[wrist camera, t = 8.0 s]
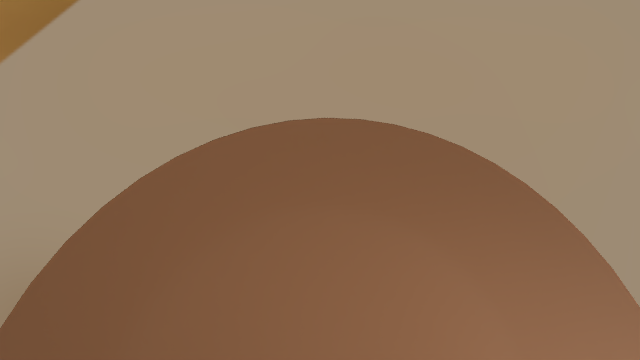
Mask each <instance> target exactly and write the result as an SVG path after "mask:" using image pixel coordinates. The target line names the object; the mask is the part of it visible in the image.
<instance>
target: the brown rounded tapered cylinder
mask: <svg viewBox="0 0 640 360" xmlns="http://www.w3.org/2000/svg"><path fill="white" fill-rule="evenodd" d="M0 360H640V307H639V306H638V304H637V303H636V301H635V300H634V298H633V297H632V296H631V294H630V293H629V291H628V290H627V289H626V287H625V286H624V285H623V283H622V281H621V280H620V279H619V277H618V276H617V274H616V273H615V271H614V270H613V269H612V268H611V266H610V265H609V264H608V263H607V262H606V260H605V259H604V258H603V257H602V256H601V255H600V253H599V252H598V251H597V250H596V249H595V248H594V246H593V245H592V244H591V243H590V242H589V240H588V239H587V238H586V237H585V236H584V235H583V234H582V233H581V232H580V231H579V230H578V229H577V228H576V227H575V226H574V225H573V224H572V223H571V222H570V221H569V220H568V219H567V218H566V217H565V216H564V215H563V214H562V213H561V212H560V211H559V210H558V209H557V208H555V207H554V206H553V205H552V204H550V203H549V202H548V201H546V200H545V199H544V198H543V197H542V196H540V195H539V194H538V193H537V192H535V191H534V190H533V189H532V188H530V187H529V186H528V185H527V184H525V183H524V182H522V181H521V180H519V179H518V178H516V177H515V176H513V175H512V174H510V173H509V172H507V171H505V170H504V169H502V168H501V167H499V166H498V165H496V164H495V163H493V162H491V161H489V160H487V159H485V158H483V157H481V156H479V155H477V154H476V153H473V152H472V151H470V150H468V149H466V148H464V147H462V146H459V145H457V144H454V143H452V142H449V141H446V140H444V139H441V138H439V137H436V136H433V135H431V134H428V133H424V132H421V131H417V130H413V129H409V128H406V127H402V126H398V125H394V124H388V123H381V122H374V121H368V120H361V119H338V118H317V119H305V120H292V121H284V122H280V123H274V124H269V125H264V126H259V127H254V128H250V129H247V130H244V131H240V132H237V133H234V134H231V135H228V136H224V137H221V138H218V139H215V140H212V141H210V142H208V143H206V144H204V145H201V146H199V147H197V148H195V149H193V150H190V151H188V152H186V153H184V154H182V155H179V156H177V157H175V158H174V159H172V160H170V161H169V162H167V163H165V164H164V165H162V166H160V167H159V168H157V169H155V170H153V171H152V172H150V173H148V174H147V175H145V176H143V177H142V178H140V179H139V180H137V181H136V182H135V183H133V184H132V185H131V186H129V187H128V188H127V189H125V190H124V191H123V192H121V193H120V194H119V195H117V196H116V197H115V198H114V199H112V200H111V201H110V202H108V203H107V204H106V205H104V206H103V207H102V208H101V209H100V210H99V211H98V212H97V213H95V214H94V215H93V216H92V217H91V218H90V219H89V220H88V221H87V222H86V223H85V224H84V225H83V226H82V227H81V228H80V229H79V230H78V231H77V232H76V233H75V234H73V235H72V236H71V237H70V238H69V239H68V240H67V241H66V242H65V243H64V244H63V246H62V247H61V248H60V250H58V252H57V253H56V254H55V255H54V256H53V258H52V259H51V260H50V261H49V262H48V263H47V265H46V266H45V267H44V268H43V270H42V271H41V272H40V273H39V274H38V275H37V276H36V278H35V279H34V280H33V281H32V282H31V284H30V285H29V287H28V288H27V290H26V291H25V293H24V294H23V295H22V297H21V298H20V300H19V301H18V303H17V304H16V306H15V308H14V309H13V310H12V312H11V314H10V315H9V316H8V318H7V319H6V321H5V322H4V324H3V325H2V327H1V328H0Z"/></svg>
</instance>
